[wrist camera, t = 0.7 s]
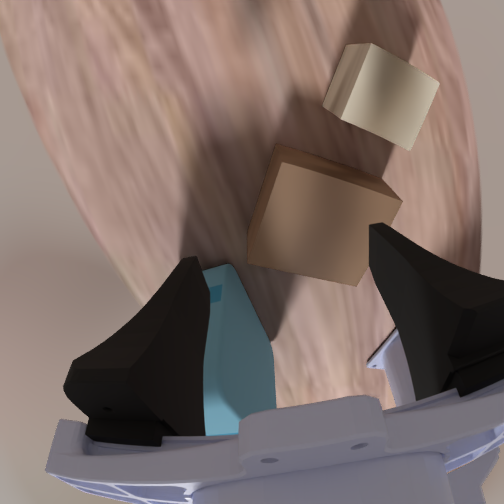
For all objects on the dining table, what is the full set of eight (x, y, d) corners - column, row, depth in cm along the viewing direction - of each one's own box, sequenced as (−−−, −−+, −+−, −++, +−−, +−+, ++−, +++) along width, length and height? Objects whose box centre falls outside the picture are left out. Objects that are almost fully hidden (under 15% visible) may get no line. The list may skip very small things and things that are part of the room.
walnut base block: (380, 177, 21) (402, 201, 18) (343, 254, 25) (356, 286, 22) (275, 142, 20) (282, 161, 17) (246, 231, 24) (247, 263, 21)
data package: (177, 269, 26) (143, 400, 16) (229, 254, 25) (217, 393, 15) (231, 356, 32) (226, 464, 22) (273, 347, 31) (279, 459, 21)
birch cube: (404, 74, 17) (439, 82, 13) (380, 131, 19) (409, 151, 16) (345, 44, 16) (371, 43, 12) (321, 105, 18) (340, 119, 15)
